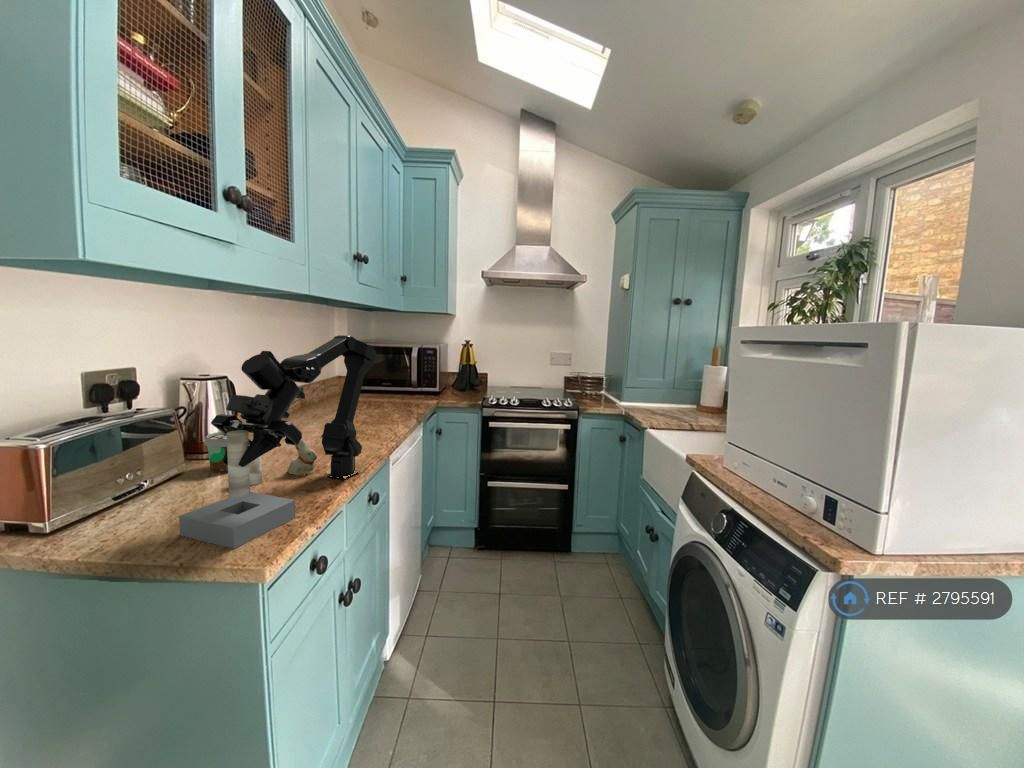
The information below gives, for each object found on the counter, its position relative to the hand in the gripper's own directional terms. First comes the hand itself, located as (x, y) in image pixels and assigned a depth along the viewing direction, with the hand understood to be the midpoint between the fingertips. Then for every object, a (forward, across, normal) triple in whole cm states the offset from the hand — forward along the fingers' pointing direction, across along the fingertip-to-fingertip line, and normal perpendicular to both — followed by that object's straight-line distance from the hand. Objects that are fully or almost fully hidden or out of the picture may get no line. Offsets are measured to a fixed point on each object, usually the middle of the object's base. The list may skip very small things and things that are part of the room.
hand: (232, 464), depth 79 cm
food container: (-9, -36, +28) cm, 46 cm away
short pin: (-6, -18, +25) cm, 31 cm away
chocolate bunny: (-13, -12, +32) cm, 37 cm away
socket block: (+9, 0, +10) cm, 14 cm away
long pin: (+4, 0, +6) cm, 7 cm away
